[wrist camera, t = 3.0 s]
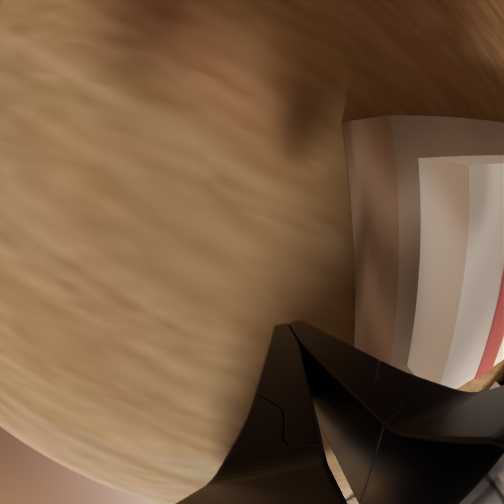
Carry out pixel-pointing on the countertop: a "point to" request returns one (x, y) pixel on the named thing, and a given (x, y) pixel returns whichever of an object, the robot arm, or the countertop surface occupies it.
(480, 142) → the taupe square box
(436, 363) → the card box
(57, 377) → the countertop surface
